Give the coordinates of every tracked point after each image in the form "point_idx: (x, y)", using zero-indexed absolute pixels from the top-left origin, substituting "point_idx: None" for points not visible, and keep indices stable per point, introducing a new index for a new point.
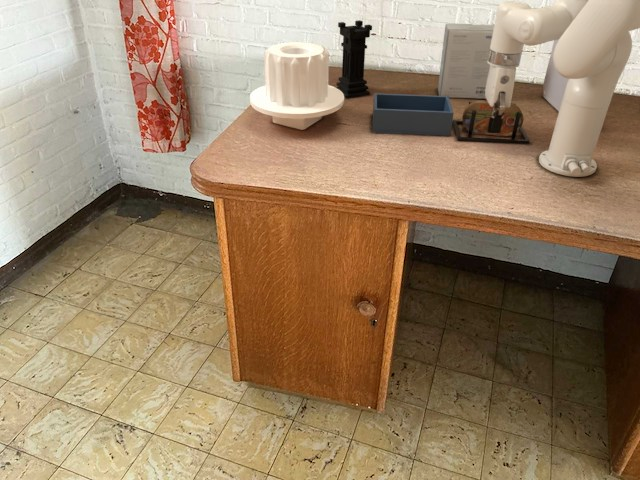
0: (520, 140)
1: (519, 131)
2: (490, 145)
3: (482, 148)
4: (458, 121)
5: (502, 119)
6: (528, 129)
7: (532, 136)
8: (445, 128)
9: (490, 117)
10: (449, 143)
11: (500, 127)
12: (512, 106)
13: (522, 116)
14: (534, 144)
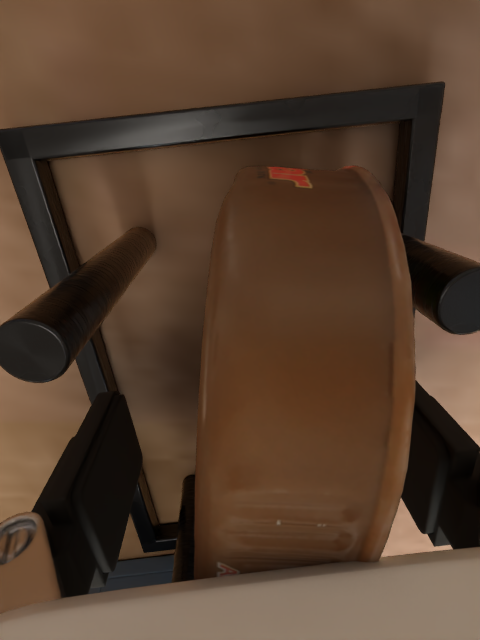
0: (429, 176)
1: (165, 147)
2: (439, 373)
3: (477, 412)
4: (154, 532)
5: (469, 443)
6: (67, 33)
7: (245, 14)
8: None
9: (446, 541)
10: (409, 533)
11: (418, 388)
12: (366, 447)
13: (366, 195)
14: (435, 27)
